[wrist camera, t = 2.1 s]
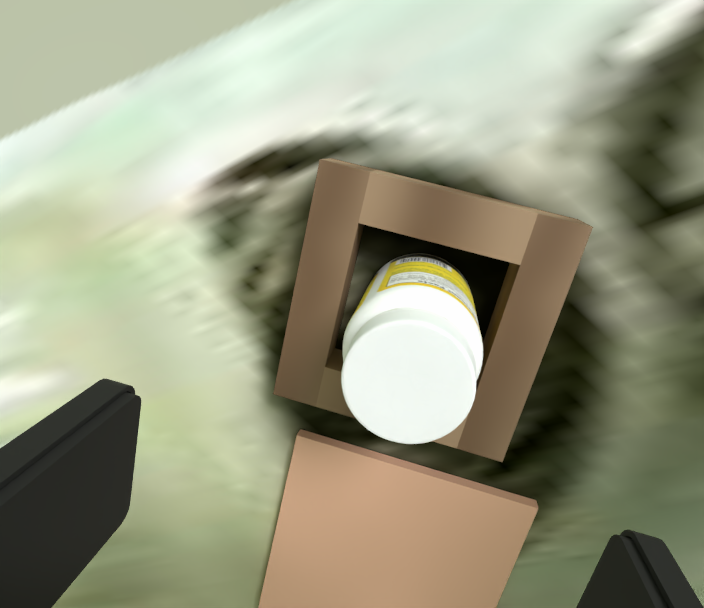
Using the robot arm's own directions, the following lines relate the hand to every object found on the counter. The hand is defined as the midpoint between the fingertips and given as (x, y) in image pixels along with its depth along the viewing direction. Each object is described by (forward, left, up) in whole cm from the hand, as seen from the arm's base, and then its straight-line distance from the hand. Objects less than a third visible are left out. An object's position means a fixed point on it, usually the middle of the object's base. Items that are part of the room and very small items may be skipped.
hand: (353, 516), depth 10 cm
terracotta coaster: (-3, +14, -14) cm, 20 cm away
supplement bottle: (-1, 0, -14) cm, 14 cm away
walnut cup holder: (-1, 0, -14) cm, 14 cm away
